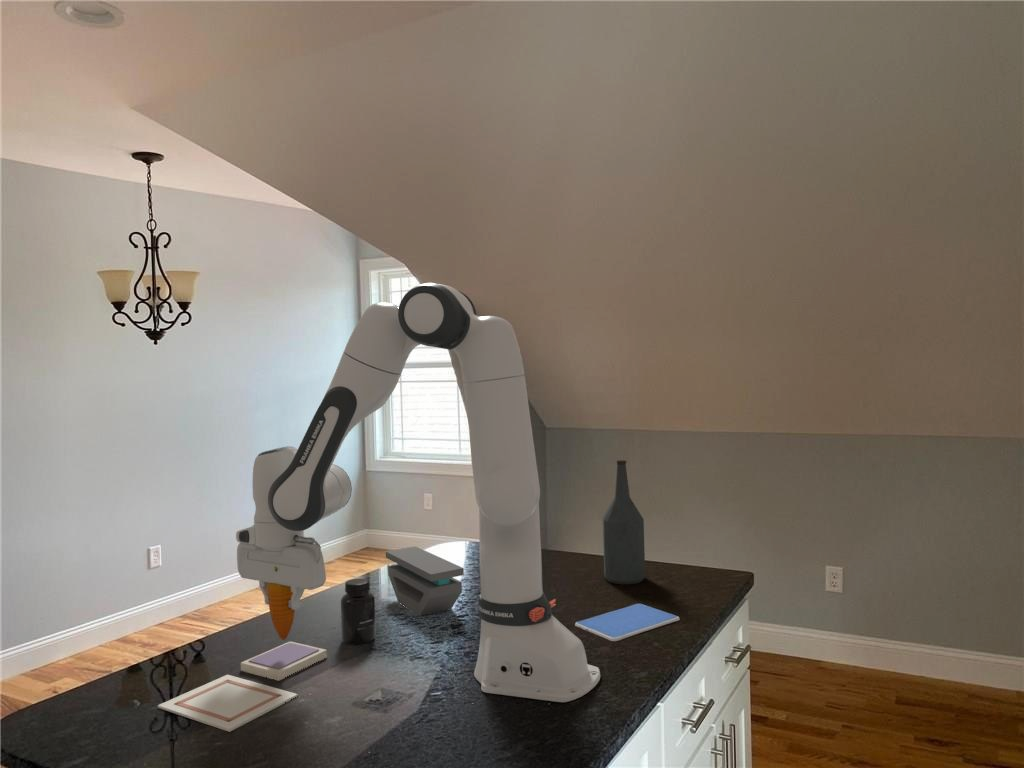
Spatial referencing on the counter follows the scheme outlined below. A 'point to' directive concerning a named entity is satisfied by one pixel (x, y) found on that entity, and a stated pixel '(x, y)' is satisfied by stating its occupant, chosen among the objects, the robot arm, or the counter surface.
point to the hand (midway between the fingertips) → (282, 606)
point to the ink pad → (283, 660)
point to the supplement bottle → (357, 613)
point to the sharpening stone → (424, 580)
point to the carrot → (280, 608)
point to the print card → (227, 702)
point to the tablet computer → (626, 622)
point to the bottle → (623, 535)
